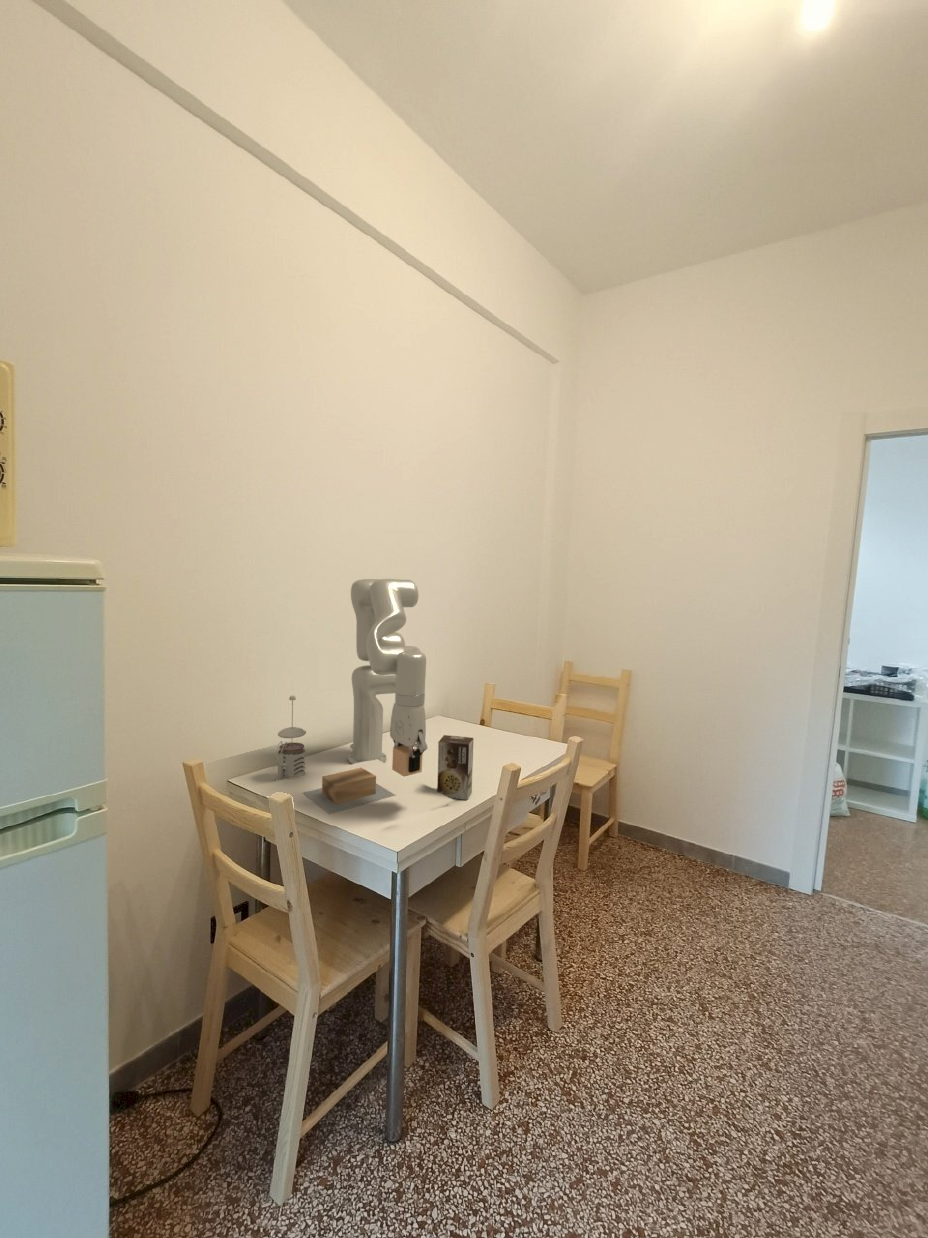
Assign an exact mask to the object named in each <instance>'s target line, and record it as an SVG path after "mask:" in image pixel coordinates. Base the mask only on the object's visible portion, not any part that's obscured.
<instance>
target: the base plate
mask: <svg viewBox="0 0 928 1238" xmlns="http://www.w3.org/2000/svg"><path fill="white" fill-rule="evenodd" d="M301 794H302V795H304V796H305V797H306V798H307V799H309V800H310V801H312V803H314V804H315V805H316V806H318V807H319V808H320V809H321V810H323V811H324V812H325V813H327V814H329V815H331V814H335V813H338V812H342V811H345V810H349V809H353V808H356V807H359V806H363V805H368V804H370V803H373V802H378V801H381V800H386V799H387V798H388V799H389V798H391V797H396V794H394V793H393V792H392V791H390V790H389V789H387V788H384V787H383V786H382V785H379V784H378V783H376V794H373V795H369V796H366V797H362V798H358V799H355V800H351V801H347V802H344V803H340V804H335V803H333V802H332V801H331V800H329V799H328V798H326V797H325V796H324V795H322V787H321V788H317V789H313V790H312V789H311V790H307V791H304V792H302V793H301Z"/></svg>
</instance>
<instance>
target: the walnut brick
mask: <svg viewBox="0 0 928 1238" xmlns="http://www.w3.org/2000/svg"><path fill="white" fill-rule="evenodd" d="M321 780H322V781H321V783H322V787H321V788H322V795H324V796H325V797H326V798H328V799H329V800H331V801H332V802H333V803H335V804H340V803H344V802H347V801H351V800H355V799H358V798H362V797H366V796H369V795H373V794H376V784H377V776H376V775H375V774H373V773H372V772H370V771H368V770H367V769H364V768H363V767H358V768H353V769H349V770H344V771H341V772H336V773H332V774H326V775H323V776H322V778H321Z"/></svg>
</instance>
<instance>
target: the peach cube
mask: <svg viewBox="0 0 928 1238" xmlns="http://www.w3.org/2000/svg"><path fill="white" fill-rule="evenodd" d="M416 749H417V747H414V751H415V750H416ZM423 754H424V752H423V753H422V756H420V770H419V771H415V772H411V773H410V772H409V757H411V755H410V748H409V747H407V746H405V745H402V746H397V747H394V746H393V747H392V763H391V765H392V766H391V768H392V769H391V770H392V771H394V772H396V773H397V774H399V775H401V776H403V777H408V776H411V775H416V774H419V773H422V772H423V771H422V770H423V769H422V768H423V756H424V755H423Z"/></svg>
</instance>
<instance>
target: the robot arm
mask: <svg viewBox="0 0 928 1238" xmlns="http://www.w3.org/2000/svg"><path fill="white" fill-rule="evenodd" d="M350 600H351V605H352V608H353V611H354V615H355V619H356V620H355V621H356V633H355V634H356V636H355V638H356V643H355V644H356V647H355V648H356V656H357V658H358V659H359V660H361V661H362V662H363V661H365V662H369V664H368V665H367V664H366V665H361V666H358V667H356V668H355V669H353V671H352V673H351V686H352V693H353V694H352V695H353V726H352V727H353V728H352V730H353V731H352V734H353V735H352V743H351V744H350V746H349V747H350V748H351V749H352V753H349V755H348V756H347V761H348V763H350V765H351V764H352V765H355V764H358V763H362V762H363V763H364V762H370V761H376V760H378V761H379V762H382V763H385V762H387V758H388V757H387V755H386V753H384V752H383V731H384V730H383V727H384V726H383V724H384V708H383V705H382V703H381V701H380V700H379V699H378V698H377V697H376V696H378V695H387V694H389V695H390V694H394V695H395V696H394V697H395V698H394V701H393V706H392V711H391V716H390V717H391V718H390V727H389V736H390V738H391V739H392V741H393V743H394V745H393V747H397V746H402V745H405V746H407V747H409V748H410V755H411V757H409V772H410V773H411V772H415V771H419V770H420V756H422V757H423V755H422V753H423V754H424V753H425V752H426V750H428V745H427V742H426V734H427V733H426V731H427V730H426V729H427V726H426V725H427V724H426V723H427V722H426V721H427V720H426V710H425V699H426V697H425V696H426V693H425V692H426V675H427V673H426V672H427V656H426V654H425V653H424V652H422V650H421V649H420V648H419V647H417V646H413V645H406V642H405V638H404V637H403V635H402V634H401V633H399V632H398V631H400V629H403V627H404V626H405V624H406V622H407V615H406V612H405V609H404V608H414V607H415V606H416V605H417V604H418V601H419V590H418V587H417V585H416V583H415V582H414V581H413V580H411V579H400V578H399V579H397V578H395V579H394V578H363V579H358V580H356V581H354V582H352V585H351V587H350ZM414 747H417V749H416V750H415V751H414Z"/></svg>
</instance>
